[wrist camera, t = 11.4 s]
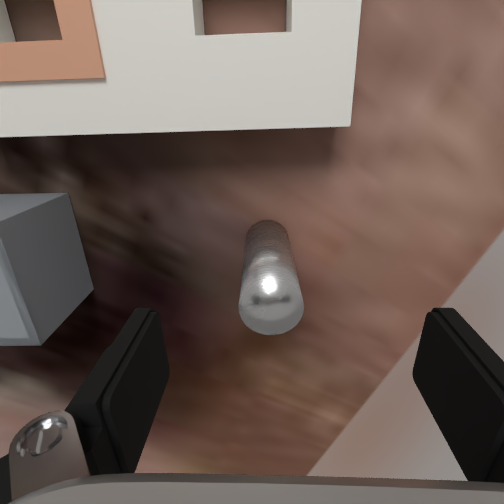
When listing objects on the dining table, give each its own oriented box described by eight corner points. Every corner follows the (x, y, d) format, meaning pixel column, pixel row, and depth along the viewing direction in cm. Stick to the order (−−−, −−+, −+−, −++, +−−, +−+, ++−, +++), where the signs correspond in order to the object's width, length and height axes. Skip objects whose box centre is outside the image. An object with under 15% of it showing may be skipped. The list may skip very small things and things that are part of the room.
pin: (287, 258, 21) (302, 334, 14) (246, 259, 21) (240, 335, 14) (288, 219, 20) (305, 279, 13) (245, 220, 20) (237, 280, 13)
